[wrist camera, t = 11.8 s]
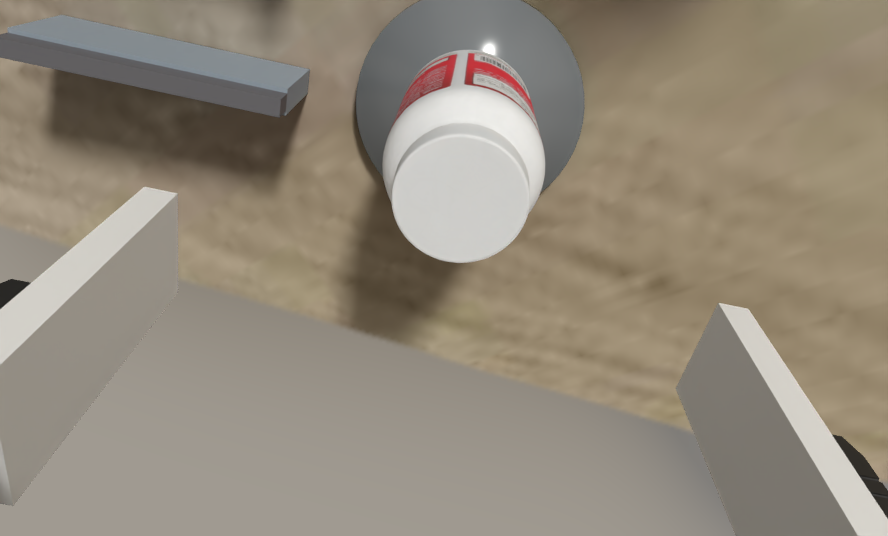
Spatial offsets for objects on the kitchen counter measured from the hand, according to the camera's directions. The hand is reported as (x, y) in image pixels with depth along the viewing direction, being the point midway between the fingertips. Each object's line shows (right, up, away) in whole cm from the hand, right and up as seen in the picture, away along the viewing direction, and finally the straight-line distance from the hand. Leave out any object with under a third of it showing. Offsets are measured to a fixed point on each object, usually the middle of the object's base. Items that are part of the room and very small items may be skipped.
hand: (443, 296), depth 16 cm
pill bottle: (+1, +8, +16) cm, 18 cm away
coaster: (+1, +9, +16) cm, 18 cm away
